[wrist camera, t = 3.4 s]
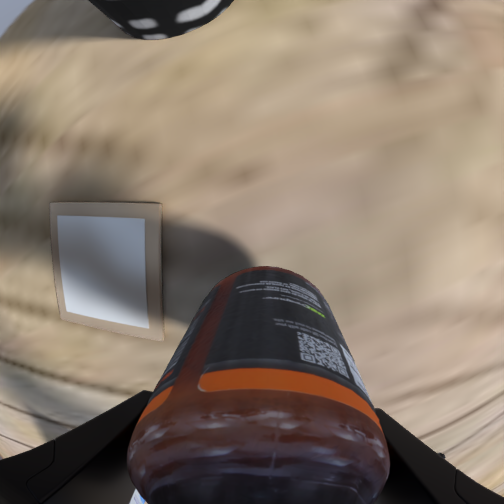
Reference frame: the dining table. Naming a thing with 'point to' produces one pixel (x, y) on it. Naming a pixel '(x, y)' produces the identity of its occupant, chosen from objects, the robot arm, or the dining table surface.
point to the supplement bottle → (260, 405)
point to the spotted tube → (160, 15)
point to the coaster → (109, 265)
